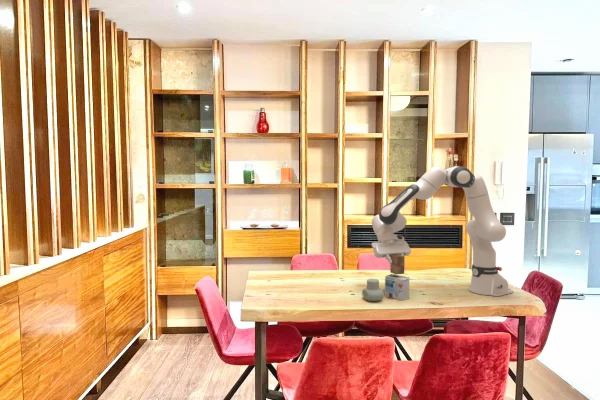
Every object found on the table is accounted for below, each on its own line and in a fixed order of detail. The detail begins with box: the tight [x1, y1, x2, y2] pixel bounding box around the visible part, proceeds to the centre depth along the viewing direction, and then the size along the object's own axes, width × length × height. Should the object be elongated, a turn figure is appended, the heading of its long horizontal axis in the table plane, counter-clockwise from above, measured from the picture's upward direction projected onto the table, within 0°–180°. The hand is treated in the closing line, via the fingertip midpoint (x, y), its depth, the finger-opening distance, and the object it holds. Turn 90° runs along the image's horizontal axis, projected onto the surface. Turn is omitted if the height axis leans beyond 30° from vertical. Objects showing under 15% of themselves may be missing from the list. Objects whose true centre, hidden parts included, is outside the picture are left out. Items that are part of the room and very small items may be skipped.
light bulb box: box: [384, 273, 410, 301], centre depth 192 cm, size 11×7×11 cm, turn 47°
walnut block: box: [389, 255, 406, 275], centre depth 191 cm, size 5×5×9 cm
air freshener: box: [361, 278, 385, 302], centre depth 187 cm, size 11×8×10 cm
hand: (397, 262), depth 191 cm, fingers closed on walnut block, 5 cm apart
